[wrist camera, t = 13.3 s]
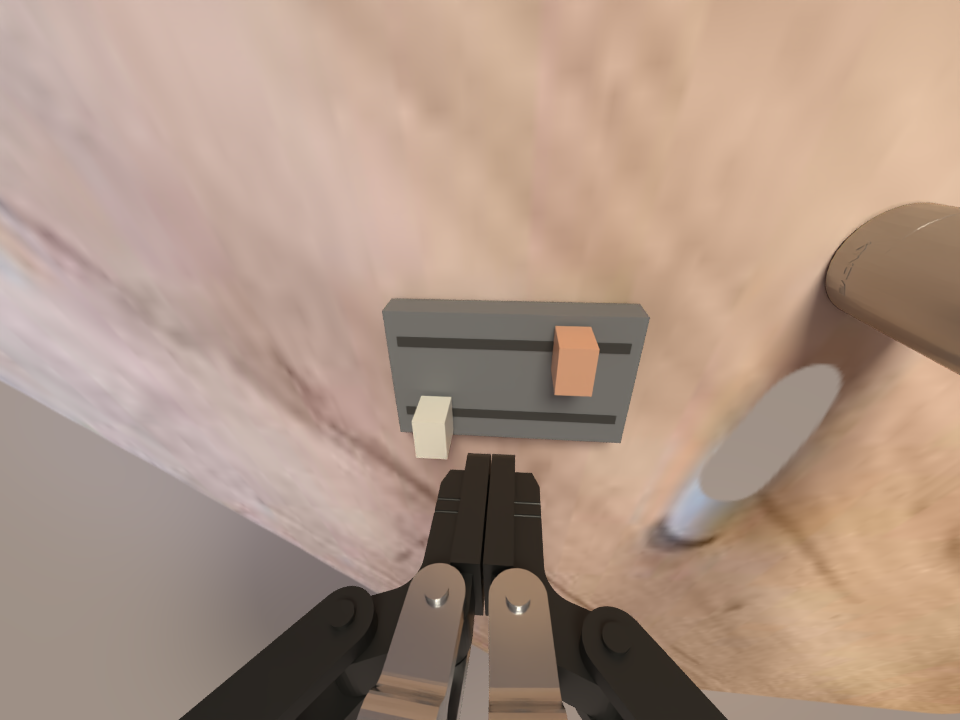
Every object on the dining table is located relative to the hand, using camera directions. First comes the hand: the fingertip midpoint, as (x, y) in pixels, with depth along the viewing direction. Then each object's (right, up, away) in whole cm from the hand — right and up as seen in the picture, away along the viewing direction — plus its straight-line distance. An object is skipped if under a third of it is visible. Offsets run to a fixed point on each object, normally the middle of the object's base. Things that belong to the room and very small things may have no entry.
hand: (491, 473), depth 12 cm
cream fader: (-5, -2, +27) cm, 27 cm away
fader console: (+3, +3, +27) cm, 27 cm away
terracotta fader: (+8, +5, +21) cm, 23 cm away
